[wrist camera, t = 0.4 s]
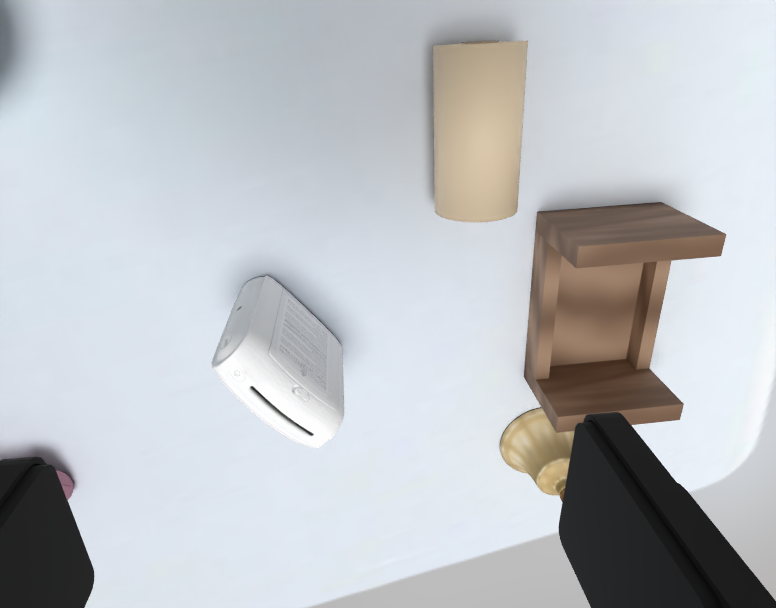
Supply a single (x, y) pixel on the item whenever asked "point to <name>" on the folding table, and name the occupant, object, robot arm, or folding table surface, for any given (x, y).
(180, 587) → the folding table surface
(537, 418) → the hand bell
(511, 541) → the folding table surface
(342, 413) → the photo printer
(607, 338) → the roll cradle
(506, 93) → the paper roll
